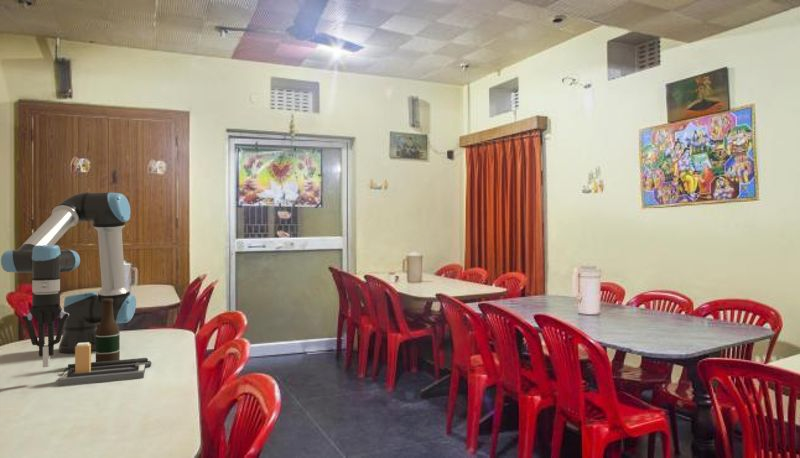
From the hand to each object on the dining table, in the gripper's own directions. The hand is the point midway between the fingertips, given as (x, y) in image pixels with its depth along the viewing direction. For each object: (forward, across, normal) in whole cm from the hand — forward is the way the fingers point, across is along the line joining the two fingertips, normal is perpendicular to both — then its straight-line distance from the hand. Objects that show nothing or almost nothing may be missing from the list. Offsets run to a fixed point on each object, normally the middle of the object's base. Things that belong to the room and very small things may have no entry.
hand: (46, 366), depth 175 cm
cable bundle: (+5, +17, +10) cm, 20 cm away
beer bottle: (+6, +16, +20) cm, 26 cm away
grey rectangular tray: (+5, +17, 0) cm, 17 cm away
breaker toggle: (+3, +10, 0) cm, 11 cm away
